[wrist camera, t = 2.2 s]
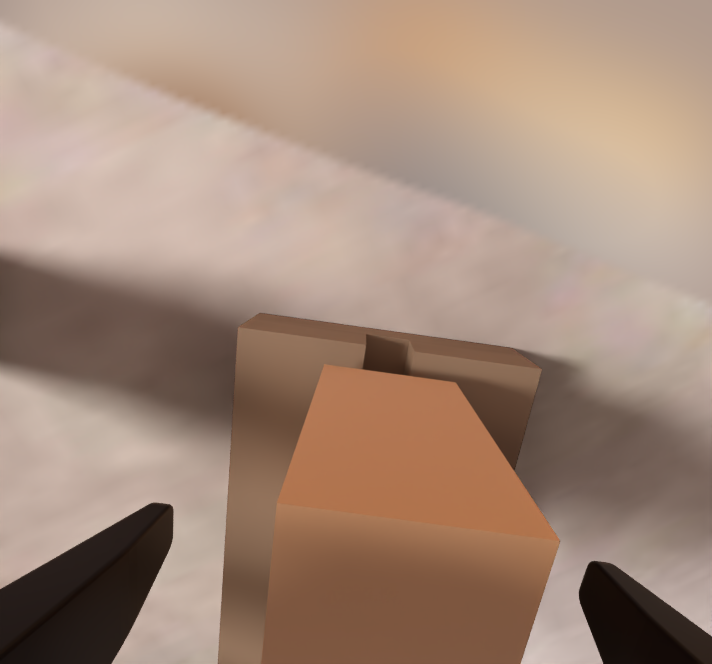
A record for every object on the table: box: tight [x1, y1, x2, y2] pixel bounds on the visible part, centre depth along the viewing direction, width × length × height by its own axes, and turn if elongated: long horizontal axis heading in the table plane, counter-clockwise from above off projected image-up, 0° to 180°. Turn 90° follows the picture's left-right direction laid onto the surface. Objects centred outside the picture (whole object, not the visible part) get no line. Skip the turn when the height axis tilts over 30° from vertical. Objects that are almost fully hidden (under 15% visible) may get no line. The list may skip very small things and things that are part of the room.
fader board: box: [218, 313, 542, 664], centre depth 16 cm, size 22×10×3 cm, turn 172°
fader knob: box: [261, 364, 560, 664], centre depth 10 cm, size 5×4×8 cm
